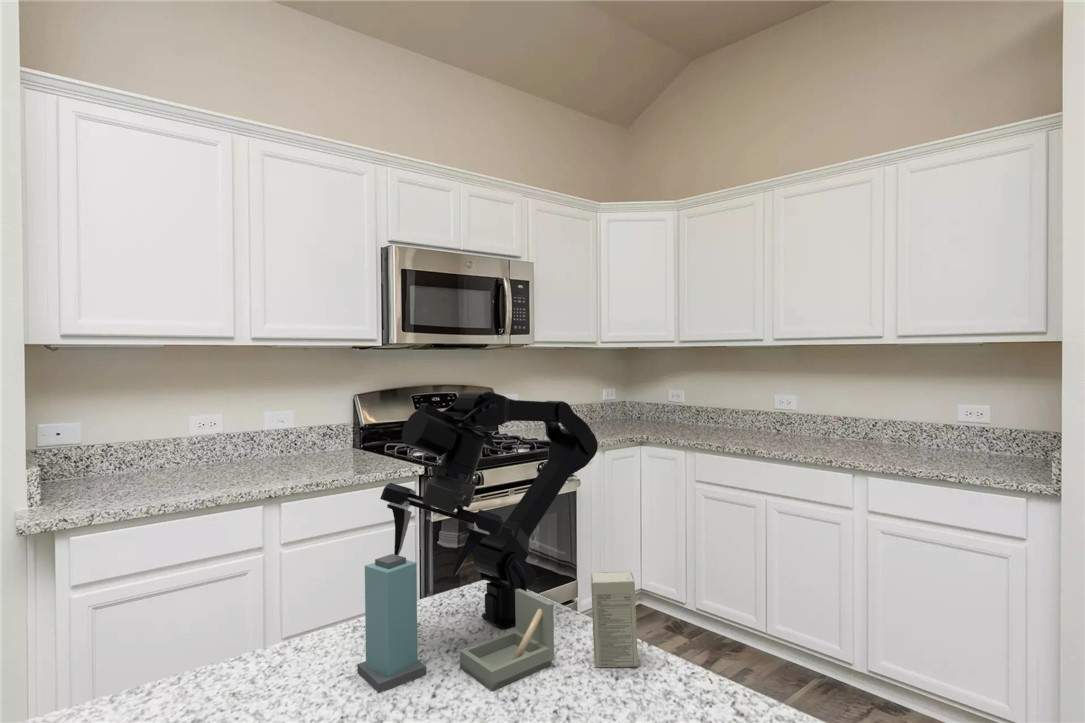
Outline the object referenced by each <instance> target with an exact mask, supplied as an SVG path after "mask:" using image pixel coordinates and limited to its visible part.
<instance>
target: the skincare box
mask: <svg viewBox="0 0 1085 723" xmlns="http://www.w3.org/2000/svg"><path fill="white" fill-rule="evenodd" d="M635 585H636V582H635V578H634V575H633V573H632V571H631V570H630V571H601V572H600V571H599V572H591V573H590V586H591V587H590V588H591V611H592V612H591V614H592V616H591V617H592V636H593V639H592V640H593V642H592V643H593V659H594V660H593V661H594V667H595V668H626V667H627V668H628V667H629V668H630V667H638V666H639V656H638V655H639V653H638V651H639V650H638V632H637V629H638V627H637V610H636V609H637V607H636V603H637V602H636V589H635V588H636V586H635Z"/></svg>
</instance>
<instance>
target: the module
mask: <svg viewBox="0 0 1085 723" xmlns="http://www.w3.org/2000/svg"><path fill="white" fill-rule="evenodd" d="M417 579H418V578H417V562H415V561H411V560H408V559H407V557H405V556H402V555H399V556H398V555H394V553H390V554H388V555H385V556H382V557H379V558H376V559H375V560H374V562H372V563H370V564H366V565H364V608H365V609H364V610H365V611H364V614H365V615H364V616H365V617H364V619H365V627H364V628H365V661H366V667H368V668H370V669H372V670H374V671H376V672H378V673H381V674H383V675H385V676H387V677H391V676H393V675H395V674H396V673H398V672H400V671H402V670H404V669H406V668H408V667H410V666H412V665H414V664H416V663H417V662H418V660H419V658H418V598H417V597H418V592H417V591H418V587H417V585H418V584H417V583H418V582H417Z"/></svg>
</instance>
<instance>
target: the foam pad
mask: <svg viewBox="0 0 1085 723" xmlns="http://www.w3.org/2000/svg"><path fill="white" fill-rule="evenodd" d="M356 665H357V667H356V668H357V674H358V675H359V676H360V677H362V679H364V680H365V681H366V683H368V685H369V686H371V687H372V688H373V689H374V690H375V691H376V692H377V693H379V694H380V693H383V692H386V691H388V690H390V689H393V688H396V687H398V686H400V685H404V684H406V683H408V682H409V683H410V682H411V681H414V680H416V679H419V678H422V677H424V676H427V665H426V664H425V663H423V662H422V661H420V660H419V659H418V662H417V663H416V664H414V665H412V666H410V667H408V668H406V669H404V670H402V671H400V672H398V673H396V674H395V675H393V676H391V677H387V676H385V675H383V674H381V673H378V672H376V671H374V670H372V669H370V668H368V667H366V660H365V661H363V662H362V661H361V662H360V663H357V664H356Z"/></svg>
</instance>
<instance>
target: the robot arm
mask: <svg viewBox="0 0 1085 723" xmlns="http://www.w3.org/2000/svg"><path fill="white" fill-rule="evenodd" d="M417 408H418V409H417V410H416V411H414V412H413V413H412V414H411V415H410V416H409V418H407V421H405V422H404V425H403V427H402V430H401V440H402V442H403V444H404V445H406V446H407V447H410V448H413V449H415V450H418V451H419V452H422V453H426V454H427V455H430V456H433V457H434V458H435V457H437V458H438V457H441V459H440V462H439V465H438V467H437V470H436V473H434V476H433V477H431V478H430V479H429V480H428V481H427V483H426V487H425V490H424V495H423V496H422V495H421V496H420V495H419V494H418V495H417V494H416V493H417V492H416V490H414V489H412V488H411V487H406V486H403V485H399V484H396V483H393V482H389V483H387V484H386V485H385V486H384V488H383V490H382V493H381V496H380V498H379V500H382V501H384V502H387V505H386V507H387V508H388V509H389V510H392V513H393V514H392V515H393V520H394V553H393V554H394V555H398V556H400V553H401V551H402V548H403V544H404V541H405V539H406V538H405V537H406V535H407V531H408V527H409V523H410V520H411V516H412V513H413V512H412V511H410V510H409V508H411V507H415V508H418V509H421V510H425V511H427V512H432V513H435V514H439V515H442V516H445V517H448V518H451V519H453V520H454V519H455V520H458V521H461V522H464V523H467V524H468V523H469V524H471V525H473V527H474V528H473V529H470V530H469V531H468V532H469V533H468V535H467V537H466V540H465V542H464V544H463V547H462V549H461V551H460V554H459V556H458V558H457V560H456V563H455V564H454V568H453V572H452V575H453V576H456V575H457V574H458V573H459V571H460V569H461V568H462V566H463V565H464V564H465V562H466V561H467V559H468V557H469V556H470V555H471V553H472V556H473V557H472V559H473V560H472V561H473V566H474V567H475V570H477V571H478V574H479V577H480V579H481V580H482V581H487V583H486V593H485V594H484V613H482V614H481V618H482V619H484V620H486V621H487V622H489V623H491V624H493V625H494V626H496V627H498V628H500V629H503V630H504V629H507V628H510V627H511V628H512V627H514V626H516V616H515V590H516V589H522V590H524V591H526V592H528V590H527V589H528V588H529V587H530V586H532V585H534V582H535V578H536V574H537V572H536V570H535V569H534V568H533V567H532V565H530V564H529V563H528V562H527V558H528V556H529V552H530V551H529V550H530V549H529V548H530V545H529V544H530V537H531V536H532V535H533V532H534V531H536V530H535V529H536V528H537V526H538V525H539V524H540V522H541V521H542V519H543V518H544V516H545V514H546V513H547V511H548V509H550V507H551V505H552V504H553V502H554V501H555V499H556V498H557V496H558V495H559V493H560V491H561V490H562V489H563V486H565V484H566V482H567V481H568V479H569V478H570V477H571V475H573V474H575V473H577V472H578V471H580V470H581V469H584V468H586V467H587V465H588V464H589V463H590V462H591V461H592V460H593V458H594V457H595V456H596V454H597V452H598V449H599V448H598V447H599V442H598V439H597V437H596V435H595V433H594V432H593V431H592V430H591V428H590V426H589V425H588V423H586V421H584V420H583V419H582V418H581V417H580V416H579V415H577V414H576V413H575V412H574V410H573V409H572V407H571V406H570V404H569V403H568V402H565V401H562V400H545V401H540V400H539V401H538V400H519V399H518V400H517V399H512V398H508V397H507V396H506V395H502V394H499V393H495V392H492V391H473V390H469V391H468V390H465V391H462V392H460V393H459V395H458V396H457V397H456V399H455V401H454V402H453V403H452V404H451V405H449V406H447V407H446V408H445V409H444V410H442V411H441V410H439V409H438V408H436V407H435V406H434V405H431V404H429V403H420V404H419V406H418V407H417ZM509 422H510V423H511V422H543V423H544V428H545V429H544V430H545V437H547V439H548V440H549V442H550V443H549V445H548V448H547V452H548V453H547V455H548V456H547V461H546V463H545V464H544V466H543V467H542V469H540V471H539V472H538V474H537V476H536V477H535V479H534V480H533V482H531V484H530V486H528V489H527V490H526V491H525V492H524V494H523V496H522V498H521V499H520V500H519V502H518V503H517V504H516V505H515V507H514V509H513V510H512V512H511V513H510V514H509V516H508V518H506V520H505V521H504V520H503V518H502V516H501V515H499V514H496V513H493V512H490V511H486V510H482V509H478V512H474V511H471V510H467V509H468V508H470V506H471V504H472V502H473V500H474V496H475V493H476V492H475V491H476V487H477V484H474V483H473V480H474V477H475V474H476V470H477V467H478V465H479V464H478V463H479V461H480V458H481V455H482V452H483V448H491V449H494V448H495V447H496V444H495V442H494V439H493V438H492V436H491V432H490V431H488V430H480V431H477V430H474V429H473V428H474V427H476V428H477V427H479V428H492V427H497V426H501V425H504V424H505V425H506V423H509ZM559 424H561V426H560V425H559ZM460 426H461V427H463V428H462V429H459V427H460ZM464 427H465V428H464ZM470 427H473V428H470ZM562 427H563V428H562ZM464 508H467V509H464ZM455 510H456V511H455Z"/></svg>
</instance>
